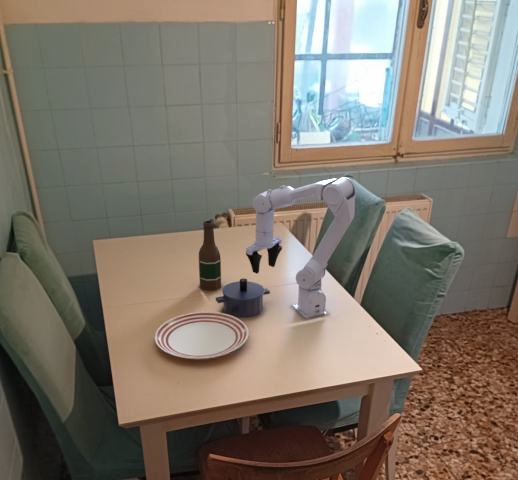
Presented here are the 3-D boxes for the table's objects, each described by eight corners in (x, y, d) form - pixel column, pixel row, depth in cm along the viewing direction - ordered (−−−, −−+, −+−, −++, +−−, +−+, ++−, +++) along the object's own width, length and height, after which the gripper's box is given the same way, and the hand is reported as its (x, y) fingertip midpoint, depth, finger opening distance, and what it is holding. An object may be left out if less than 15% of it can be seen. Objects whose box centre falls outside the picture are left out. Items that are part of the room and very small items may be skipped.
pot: (276, 313, 184) (276, 295, 181) (224, 323, 178) (223, 305, 174) (260, 297, 194) (260, 280, 190) (210, 306, 187) (209, 289, 184)
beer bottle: (218, 293, 196) (216, 226, 183) (196, 291, 197) (193, 224, 185) (224, 284, 202) (222, 219, 190) (203, 282, 204) (200, 217, 191)
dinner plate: (143, 362, 158) (141, 352, 156) (169, 316, 181) (169, 307, 179) (240, 371, 155) (240, 361, 153) (254, 323, 178) (254, 314, 176)
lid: (271, 298, 180) (271, 285, 177) (230, 305, 176) (230, 291, 173) (255, 281, 191) (255, 268, 188) (216, 287, 186) (216, 274, 184)
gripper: (271, 221, 188) (270, 259, 195) (239, 232, 179) (239, 271, 186) (286, 227, 184) (285, 265, 191) (255, 238, 175) (254, 278, 182)
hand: (263, 269), depth 188 cm, fingers open, 7 cm apart
